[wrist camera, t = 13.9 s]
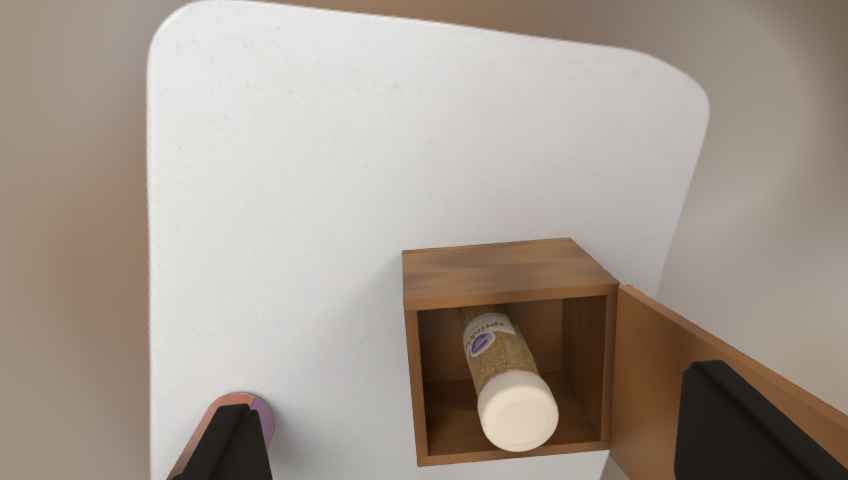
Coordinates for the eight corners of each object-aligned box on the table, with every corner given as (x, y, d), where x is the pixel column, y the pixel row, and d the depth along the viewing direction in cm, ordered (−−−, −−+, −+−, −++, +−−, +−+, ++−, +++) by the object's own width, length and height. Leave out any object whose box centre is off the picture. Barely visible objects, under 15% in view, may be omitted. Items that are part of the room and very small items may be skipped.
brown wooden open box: (413, 386, 44) (417, 467, 35) (402, 250, 41) (403, 300, 31) (567, 373, 45) (611, 449, 35) (569, 237, 41) (620, 282, 32)
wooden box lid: (800, 685, 21) (898, 650, 22) (855, 435, 18) (969, 406, 19) (609, 455, 35) (675, 440, 36) (617, 286, 31) (691, 274, 32)
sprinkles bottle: (476, 283, 41) (511, 374, 28) (522, 310, 42) (576, 409, 29) (446, 327, 42) (466, 435, 29) (491, 352, 43) (530, 467, 30)
